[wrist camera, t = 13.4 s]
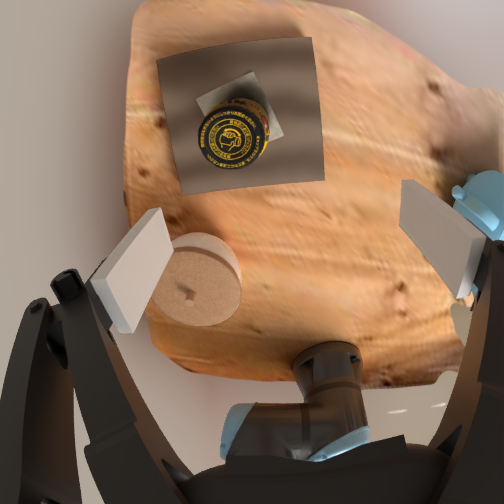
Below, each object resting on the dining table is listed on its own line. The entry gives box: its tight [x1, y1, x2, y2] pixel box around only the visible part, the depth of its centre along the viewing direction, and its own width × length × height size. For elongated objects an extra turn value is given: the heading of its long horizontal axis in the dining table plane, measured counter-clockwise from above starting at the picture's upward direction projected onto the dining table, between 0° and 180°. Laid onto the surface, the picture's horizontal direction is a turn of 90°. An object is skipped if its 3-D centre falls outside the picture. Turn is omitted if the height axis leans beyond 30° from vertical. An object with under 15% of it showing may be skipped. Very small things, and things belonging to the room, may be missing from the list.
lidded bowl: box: [151, 232, 241, 326], centre depth 39 cm, size 13×13×11 cm
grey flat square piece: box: [156, 37, 325, 196], centre depth 31 cm, size 18×18×3 cm
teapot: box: [452, 170, 504, 299], centre depth 31 cm, size 16×20×14 cm
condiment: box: [196, 72, 284, 170], centre depth 25 cm, size 7×8×12 cm
